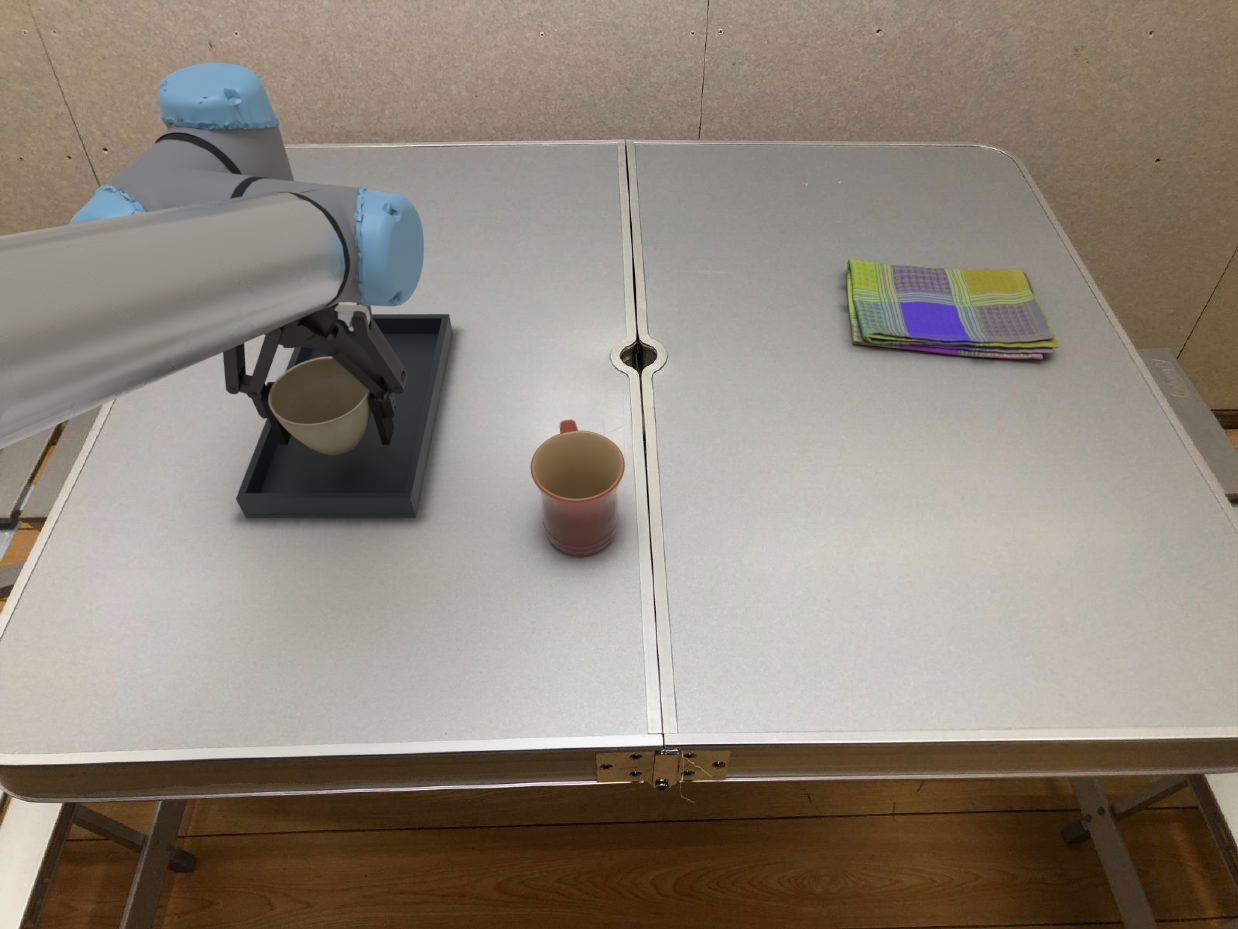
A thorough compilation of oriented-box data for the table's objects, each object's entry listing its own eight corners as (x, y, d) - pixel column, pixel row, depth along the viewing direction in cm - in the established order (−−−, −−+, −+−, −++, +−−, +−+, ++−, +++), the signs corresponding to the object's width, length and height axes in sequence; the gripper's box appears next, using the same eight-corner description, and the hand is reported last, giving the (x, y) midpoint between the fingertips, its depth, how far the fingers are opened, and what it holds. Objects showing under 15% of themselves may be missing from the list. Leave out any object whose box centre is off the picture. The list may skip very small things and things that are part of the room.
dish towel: (843, 267, 115) (847, 250, 113) (1025, 279, 114) (1033, 262, 111) (852, 350, 104) (856, 332, 102) (1054, 365, 102) (1063, 348, 100)
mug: (631, 559, 83) (633, 493, 75) (544, 572, 82) (536, 507, 74) (610, 470, 91) (609, 401, 83) (530, 481, 90) (522, 413, 82)
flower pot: (357, 392, 93) (341, 342, 88) (403, 442, 88) (389, 392, 83) (273, 434, 89) (250, 384, 84) (316, 489, 84) (295, 440, 79)
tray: (416, 517, 86) (410, 498, 84) (245, 518, 86) (235, 499, 84) (453, 333, 106) (449, 313, 104) (314, 333, 106) (307, 314, 104)
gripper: (410, 232, 74) (449, 410, 91) (156, 233, 74) (241, 411, 91) (396, 283, 69) (439, 462, 86) (123, 284, 69) (219, 462, 86)
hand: (337, 435), depth 89 cm, fingers closed on flower pot, 10 cm apart
